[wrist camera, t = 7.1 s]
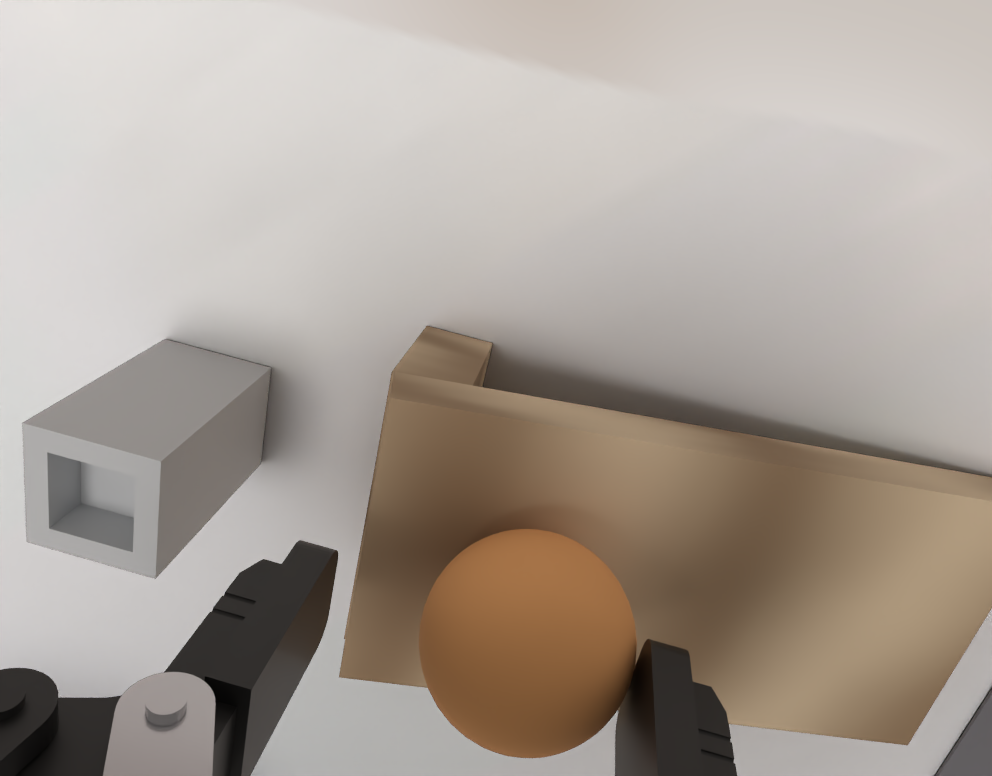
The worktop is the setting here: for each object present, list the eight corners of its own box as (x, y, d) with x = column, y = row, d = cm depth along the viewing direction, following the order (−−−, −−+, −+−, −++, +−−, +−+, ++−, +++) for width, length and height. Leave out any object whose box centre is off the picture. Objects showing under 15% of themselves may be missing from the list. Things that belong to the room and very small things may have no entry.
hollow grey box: (160, 435, 20) (26, 542, 16) (164, 339, 19) (22, 423, 15) (260, 463, 20) (155, 579, 16) (271, 367, 19) (161, 461, 14)
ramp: (380, 564, 21) (326, 673, 17) (426, 326, 18) (374, 393, 14) (891, 707, 20) (954, 855, 16) (1023, 483, 17) (1135, 598, 14)
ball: (593, 614, 17) (673, 770, 14) (419, 661, 17) (457, 837, 13) (586, 468, 15) (677, 606, 12) (388, 514, 15) (425, 675, 11)
